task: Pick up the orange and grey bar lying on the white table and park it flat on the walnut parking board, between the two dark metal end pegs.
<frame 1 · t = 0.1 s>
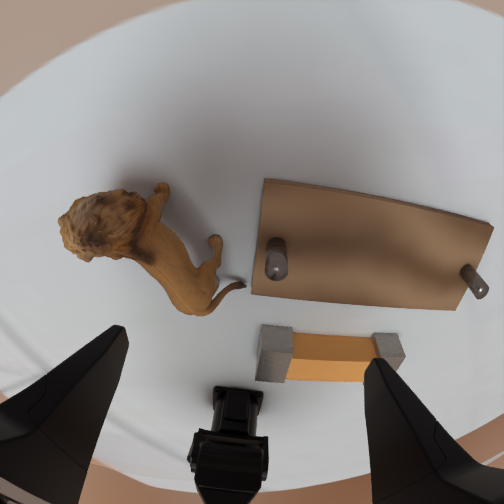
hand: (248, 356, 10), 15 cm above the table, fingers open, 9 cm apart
parking board: (383, 254, 24), on the table
lion figurine: (175, 228, 24), on the table
orange and grey bar: (328, 346, 30), on the table
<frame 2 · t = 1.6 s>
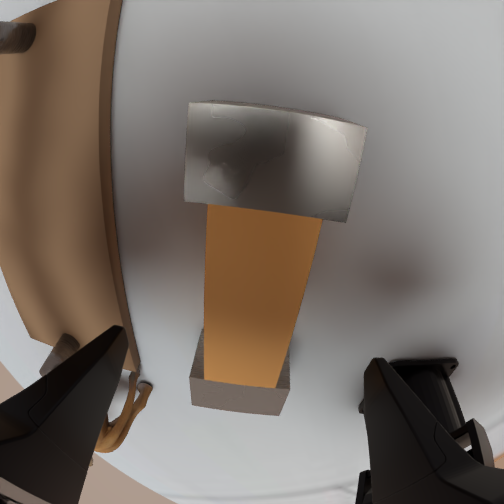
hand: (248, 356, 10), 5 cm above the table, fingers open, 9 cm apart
parking board: (42, 209, 13), on the table
lion figurine: (108, 390, 22), on the table
orange and grey bar: (254, 270, 14), on the table
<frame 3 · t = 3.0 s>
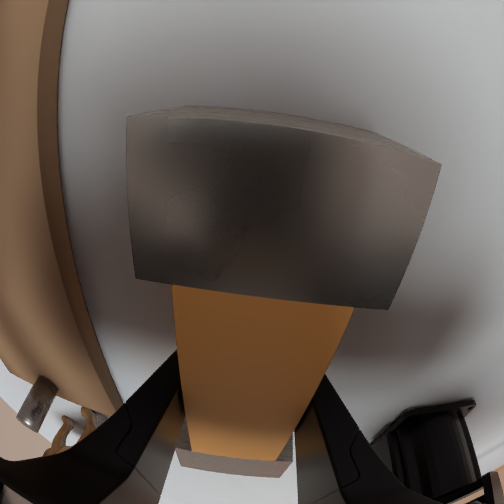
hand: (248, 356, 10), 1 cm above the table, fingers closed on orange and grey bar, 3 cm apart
lion figurine: (96, 425, 19), on the table
orange and grey bar: (251, 331, 11), on the table, touching gripper
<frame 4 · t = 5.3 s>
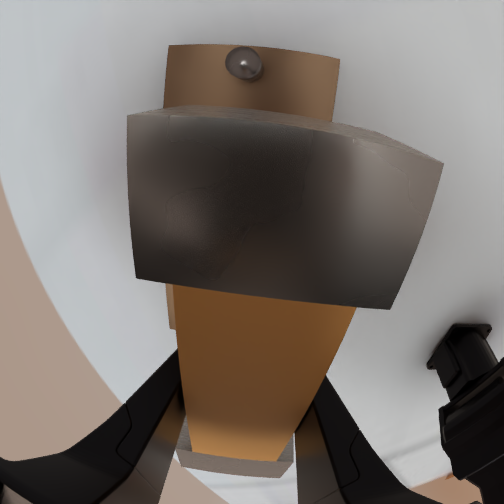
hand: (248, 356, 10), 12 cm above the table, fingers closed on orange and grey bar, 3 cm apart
parking board: (236, 213, 20), on the table
orange and grey bar: (251, 331, 11), point 11 cm above the table, touching gripper
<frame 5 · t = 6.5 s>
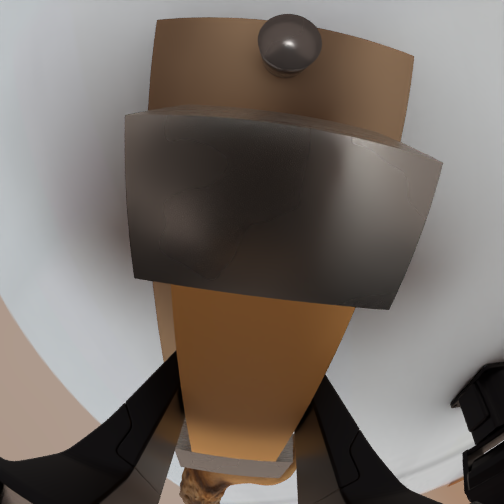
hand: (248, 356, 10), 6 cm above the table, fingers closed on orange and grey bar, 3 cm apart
parking board: (255, 265, 14), on the table
lion figurine: (245, 421, 23), on the table
orange and grey bar: (251, 331, 11), point 4 cm above the table, touching gripper
when the fingers open (4 cm above the table, at t = 7.6 s): orange and grey bar drops 1 cm, resting on parking board.
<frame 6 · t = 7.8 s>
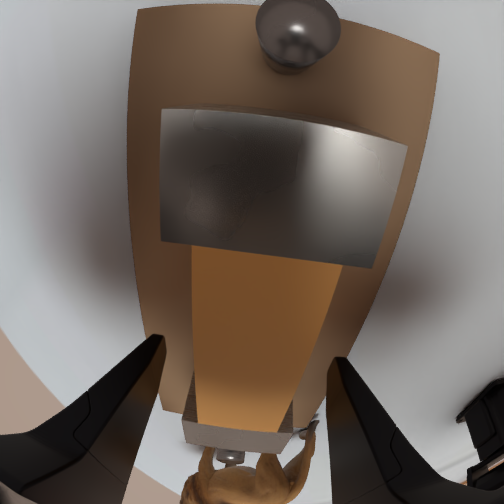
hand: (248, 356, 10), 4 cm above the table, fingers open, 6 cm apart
parking board: (254, 290, 13), on the table
lion figurine: (246, 439, 22), on the table, touching parking board
orange and grey bar: (254, 305, 12), point 1 cm above the table, touching parking board
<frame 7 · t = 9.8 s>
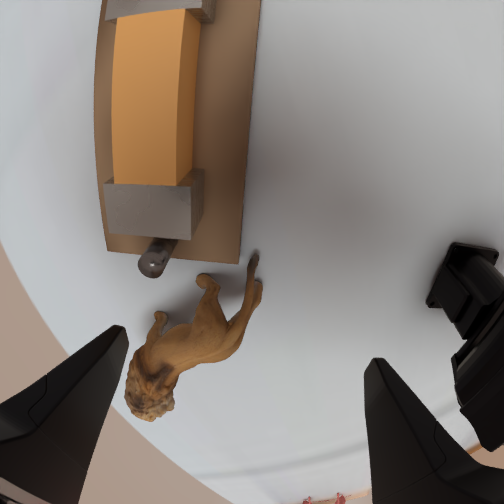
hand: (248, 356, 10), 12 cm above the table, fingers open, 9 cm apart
parking board: (170, 95, 16), on the table
lion figurine: (198, 310, 24), on the table
figurine: (323, 497, 68), on the table
orange and grey bar: (166, 95, 15), point 1 cm above the table, touching parking board
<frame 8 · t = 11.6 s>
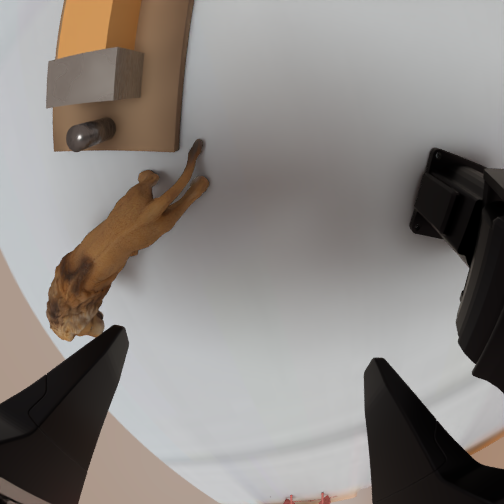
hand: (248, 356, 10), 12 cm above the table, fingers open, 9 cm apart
parking board: (124, 1, 12), on the table
lion figurine: (143, 221, 21), on the table
figurine: (306, 496, 64), on the table
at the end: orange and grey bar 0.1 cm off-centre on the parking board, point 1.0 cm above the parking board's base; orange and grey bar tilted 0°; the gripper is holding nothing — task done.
